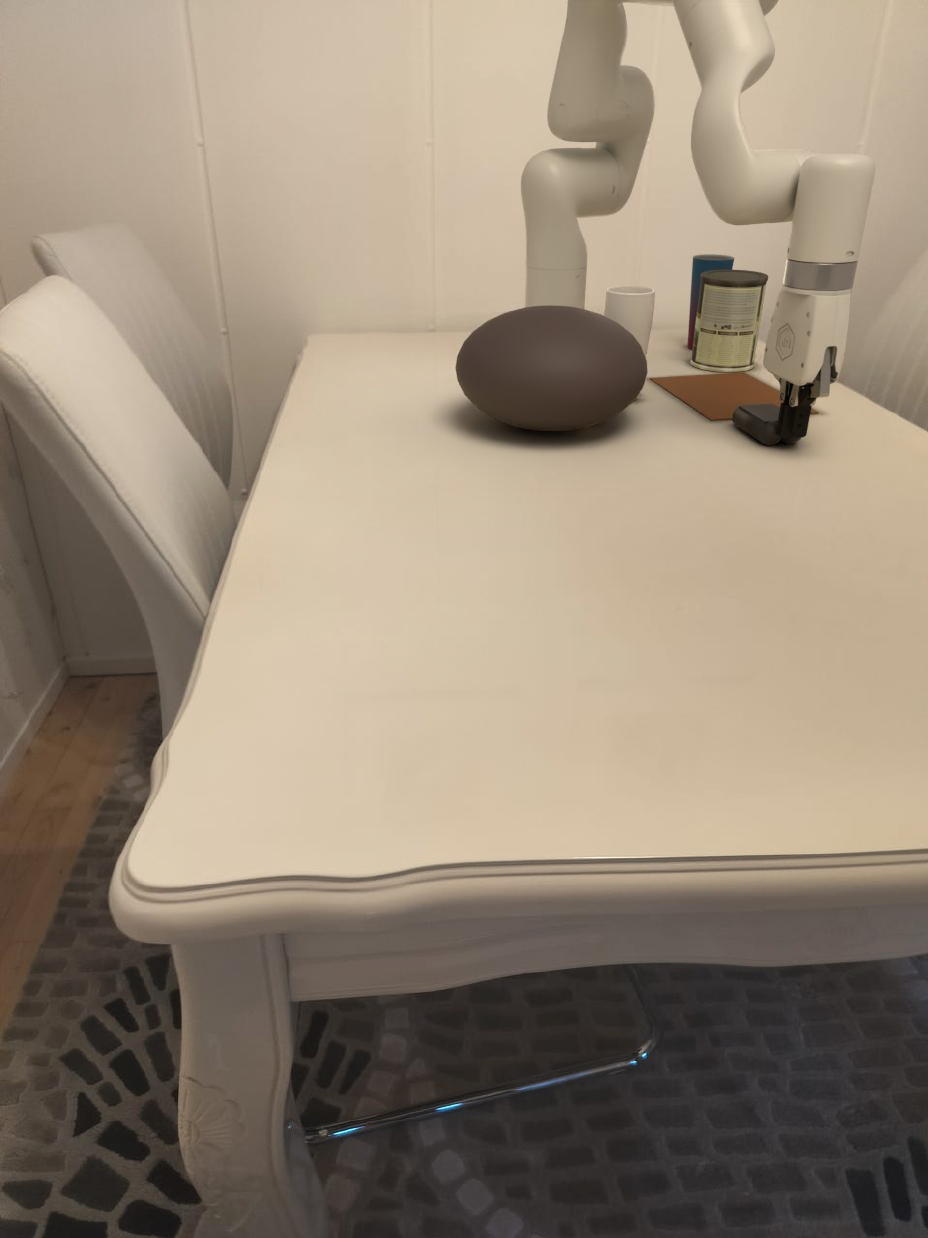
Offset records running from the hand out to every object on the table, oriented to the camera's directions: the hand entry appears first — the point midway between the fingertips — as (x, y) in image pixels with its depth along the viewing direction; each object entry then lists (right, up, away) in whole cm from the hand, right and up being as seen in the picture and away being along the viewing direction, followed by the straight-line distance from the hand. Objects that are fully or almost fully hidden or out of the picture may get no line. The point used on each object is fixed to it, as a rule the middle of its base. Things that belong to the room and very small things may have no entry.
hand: (790, 435), depth 108 cm
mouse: (-1, +1, +6) cm, 6 cm away
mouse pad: (-1, +11, +22) cm, 24 cm away
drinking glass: (-17, +10, +21) cm, 29 cm away
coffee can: (+2, +19, +38) cm, 43 cm away
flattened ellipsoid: (-29, +3, +10) cm, 31 cm away
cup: (+2, +25, +48) cm, 55 cm away
